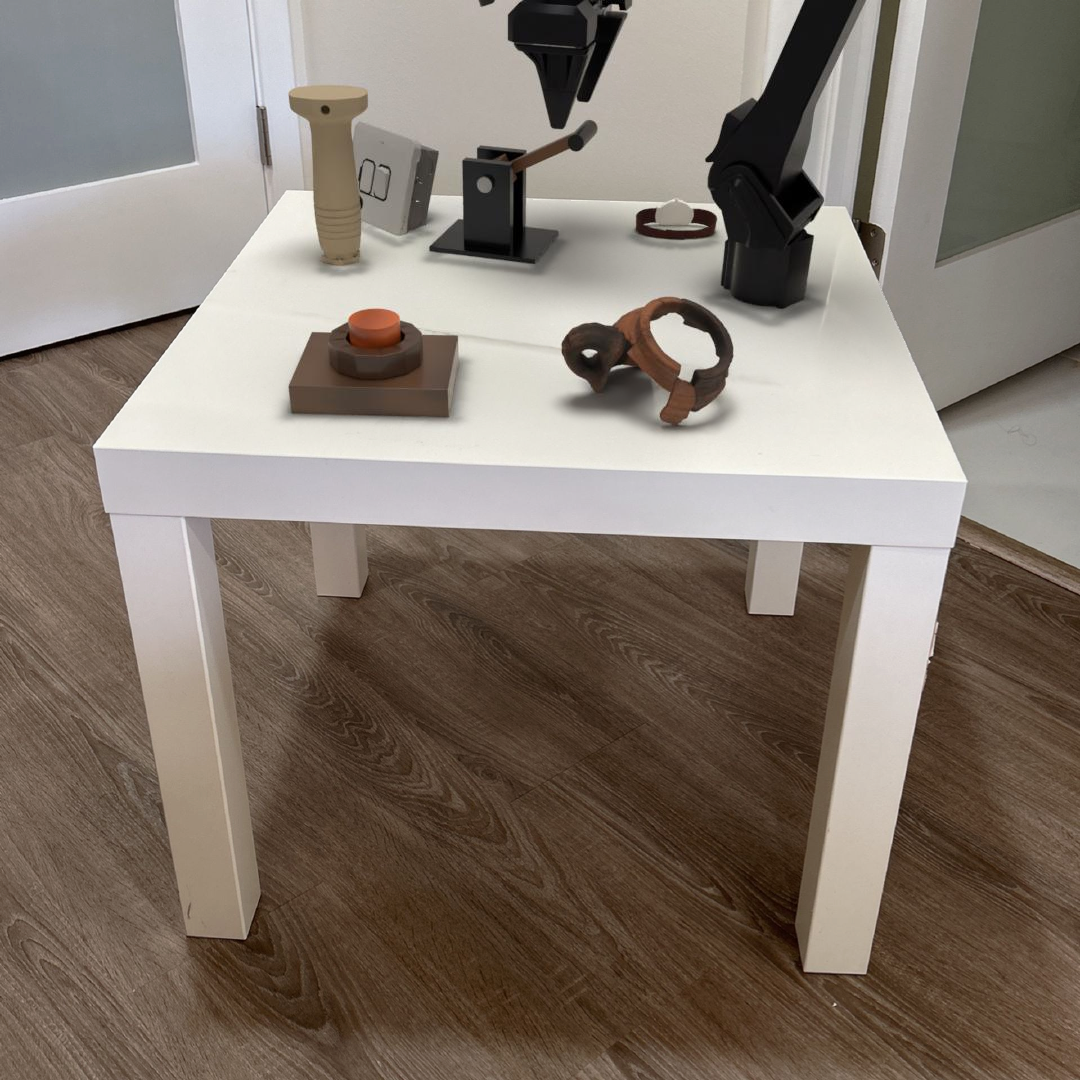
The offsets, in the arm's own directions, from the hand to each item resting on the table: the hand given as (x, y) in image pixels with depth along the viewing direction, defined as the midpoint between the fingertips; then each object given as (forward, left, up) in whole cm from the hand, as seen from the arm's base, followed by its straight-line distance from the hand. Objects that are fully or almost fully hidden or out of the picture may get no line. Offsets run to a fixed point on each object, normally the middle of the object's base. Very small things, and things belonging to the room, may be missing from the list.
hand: (570, 114), depth 100 cm
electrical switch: (+18, +6, -13) cm, 23 cm away
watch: (-3, -12, -13) cm, 18 cm away
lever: (+3, +1, -5) cm, 6 cm away
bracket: (+6, +3, -13) cm, 15 cm away
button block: (-9, +28, -13) cm, 32 cm away
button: (-9, +28, -9) cm, 31 cm away
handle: (+12, +16, -13) cm, 24 cm away
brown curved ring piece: (-23, +15, -13) cm, 30 cm away
